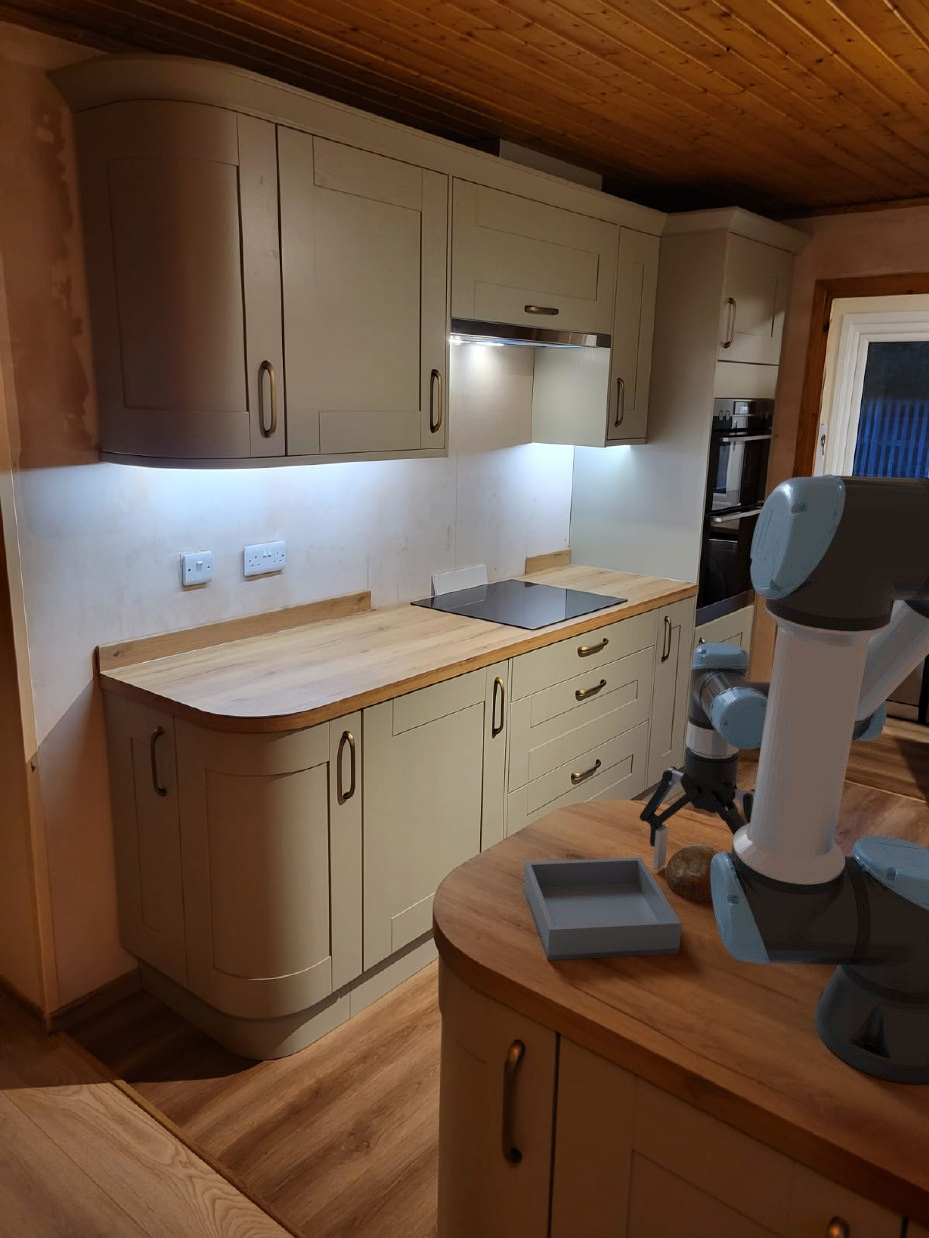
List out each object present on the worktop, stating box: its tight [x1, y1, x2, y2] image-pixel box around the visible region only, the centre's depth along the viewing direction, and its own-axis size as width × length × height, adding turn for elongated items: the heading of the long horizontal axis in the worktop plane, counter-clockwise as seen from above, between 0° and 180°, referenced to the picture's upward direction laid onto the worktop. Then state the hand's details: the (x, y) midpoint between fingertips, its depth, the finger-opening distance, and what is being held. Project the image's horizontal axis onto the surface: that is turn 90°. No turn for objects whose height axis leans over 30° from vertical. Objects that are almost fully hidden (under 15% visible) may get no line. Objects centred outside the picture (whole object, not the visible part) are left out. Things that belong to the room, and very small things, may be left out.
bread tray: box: [523, 856, 682, 961], centre depth 130 cm, size 18×18×4 cm
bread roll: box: [664, 843, 720, 902], centre depth 140 cm, size 10×10×8 cm
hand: (700, 881), depth 141 cm, fingers open, 13 cm apart
